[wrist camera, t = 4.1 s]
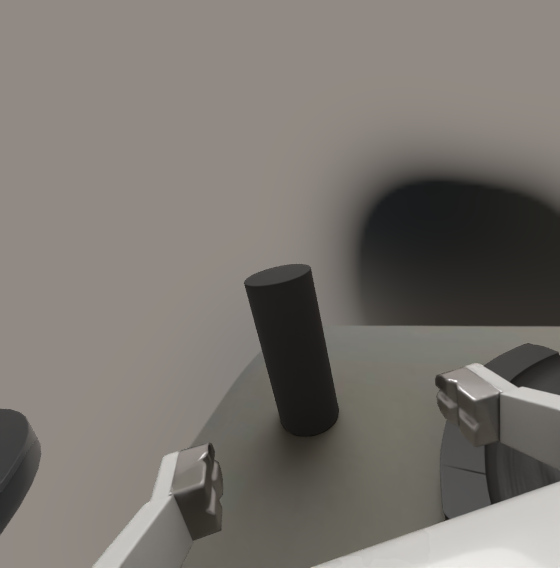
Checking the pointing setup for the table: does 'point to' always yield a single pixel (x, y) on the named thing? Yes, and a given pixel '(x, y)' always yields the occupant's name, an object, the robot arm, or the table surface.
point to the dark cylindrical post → (294, 347)
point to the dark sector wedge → (498, 443)
